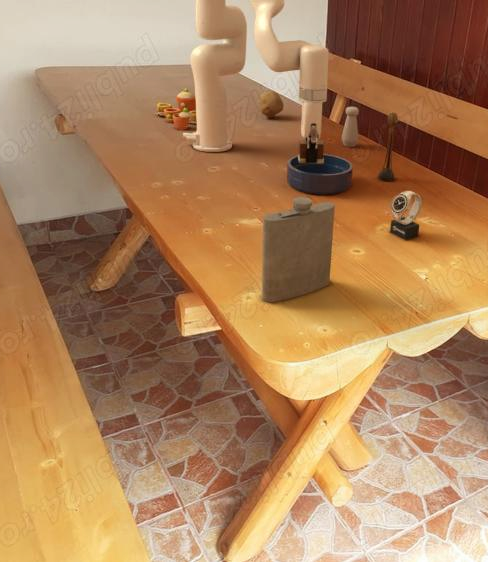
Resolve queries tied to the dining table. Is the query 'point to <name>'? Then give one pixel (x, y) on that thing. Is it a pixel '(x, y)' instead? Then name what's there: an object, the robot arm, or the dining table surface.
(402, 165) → the dining table surface
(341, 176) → the bowl
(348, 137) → the salt shaker
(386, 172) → the wooden tabletop sculpture
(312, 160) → the robot arm
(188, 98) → the toy tea set
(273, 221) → the hip flask
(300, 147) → the eraser
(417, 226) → the watch
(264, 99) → the natural sponge
